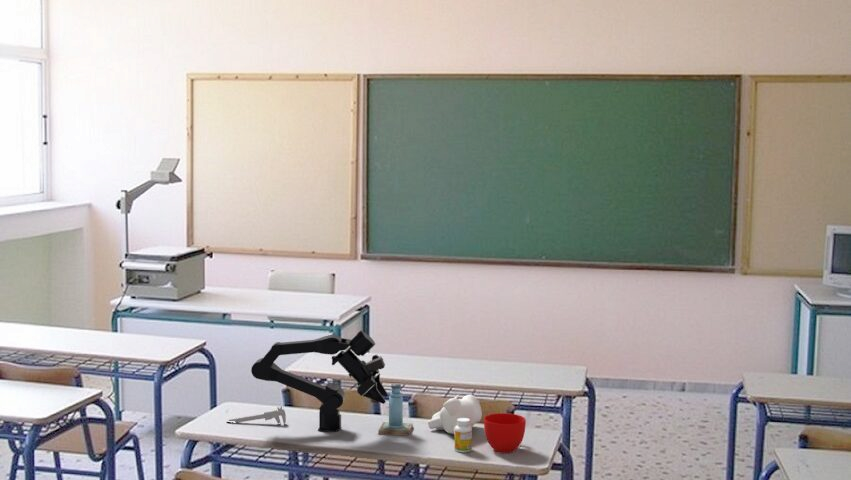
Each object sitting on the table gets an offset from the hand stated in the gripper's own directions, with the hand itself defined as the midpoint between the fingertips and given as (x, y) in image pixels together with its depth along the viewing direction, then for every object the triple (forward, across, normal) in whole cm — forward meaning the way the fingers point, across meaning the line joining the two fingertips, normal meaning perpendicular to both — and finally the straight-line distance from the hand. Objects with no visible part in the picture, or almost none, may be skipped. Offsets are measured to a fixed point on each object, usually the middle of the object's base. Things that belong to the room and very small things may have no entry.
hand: (385, 399), depth 333 cm
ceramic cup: (+35, -17, -21) cm, 44 cm away
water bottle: (+9, 0, +4) cm, 10 cm away
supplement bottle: (+26, -20, -11) cm, 34 cm away
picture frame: (+10, 0, +5) cm, 11 cm away
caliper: (-23, +5, +40) cm, 46 cm away
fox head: (+23, 0, -8) cm, 25 cm away
